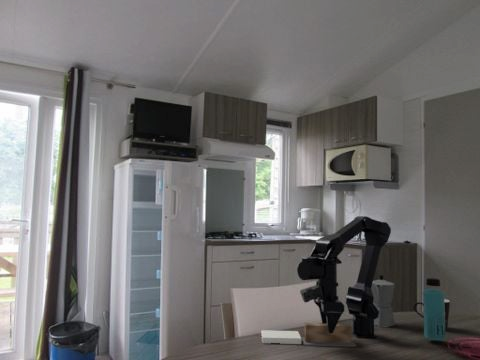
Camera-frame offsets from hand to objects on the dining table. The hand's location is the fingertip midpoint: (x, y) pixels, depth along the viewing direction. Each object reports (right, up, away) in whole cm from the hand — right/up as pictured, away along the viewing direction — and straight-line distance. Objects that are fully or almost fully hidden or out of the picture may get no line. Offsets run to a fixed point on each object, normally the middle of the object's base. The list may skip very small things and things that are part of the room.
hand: (327, 328), depth 125 cm
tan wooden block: (0, -4, 0) cm, 4 cm away
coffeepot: (+26, -7, +24) cm, 36 cm away
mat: (0, -4, 0) cm, 4 cm away
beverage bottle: (+35, -5, +2) cm, 35 cm away
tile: (-14, -4, +6) cm, 16 cm away
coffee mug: (+43, -7, +20) cm, 48 cm away
